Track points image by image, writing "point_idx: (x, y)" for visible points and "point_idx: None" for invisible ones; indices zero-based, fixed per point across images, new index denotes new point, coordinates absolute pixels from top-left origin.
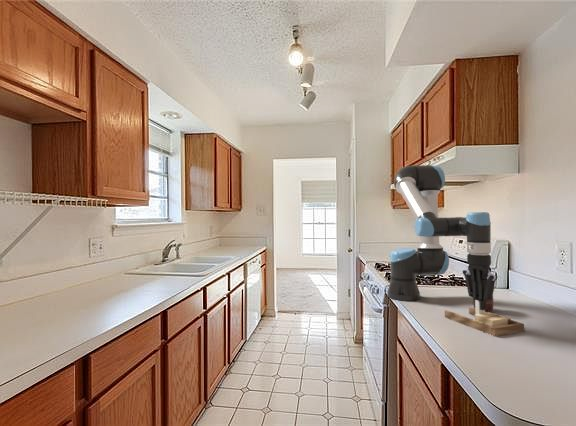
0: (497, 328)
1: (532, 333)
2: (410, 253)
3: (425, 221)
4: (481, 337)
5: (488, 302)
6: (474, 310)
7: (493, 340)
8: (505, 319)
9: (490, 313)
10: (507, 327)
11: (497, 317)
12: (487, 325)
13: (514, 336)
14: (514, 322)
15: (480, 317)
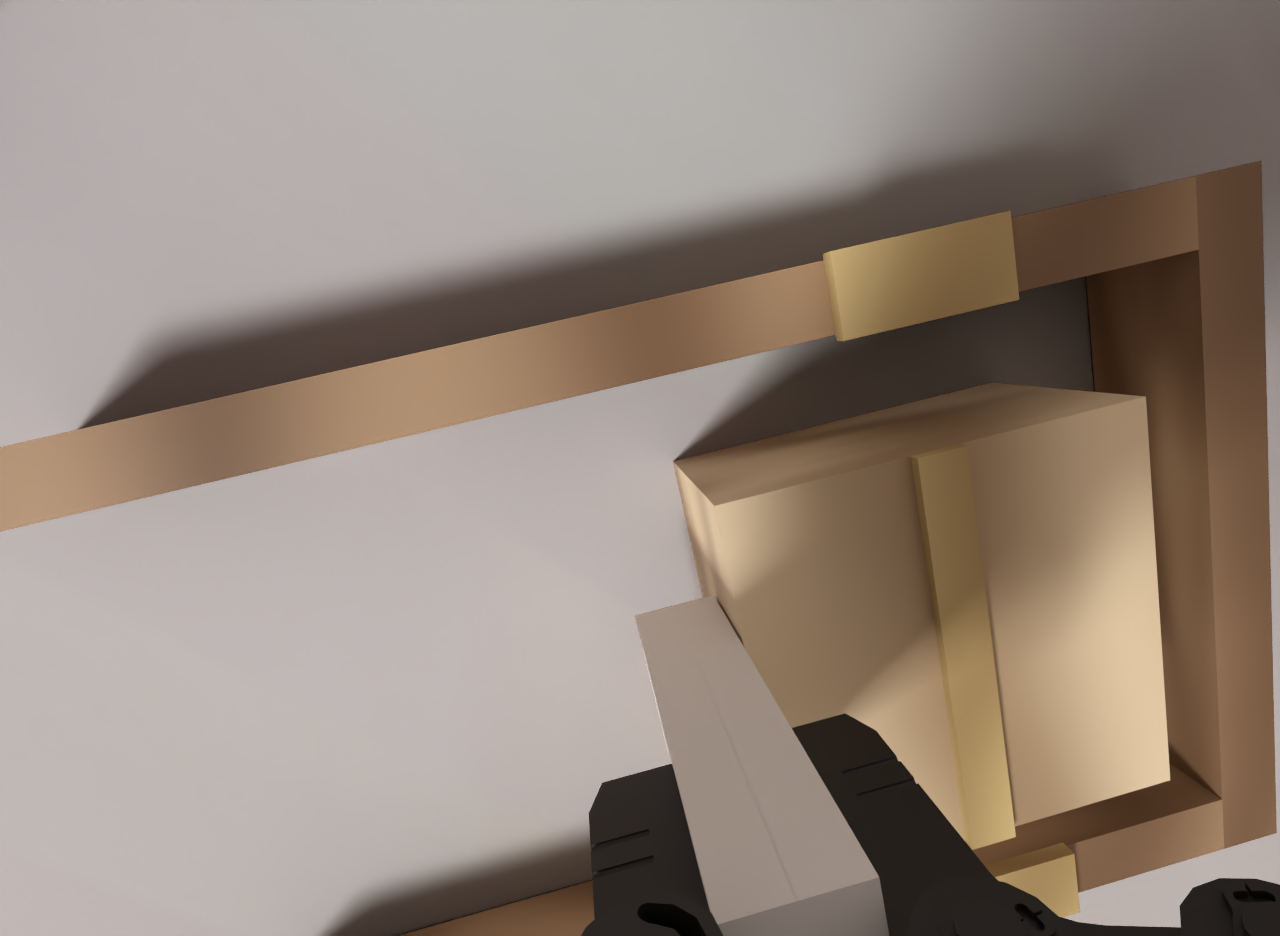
0: (1272, 777)
1: (1230, 139)
2: None
3: None
4: (1150, 921)
5: None
6: (178, 489)
7: (1257, 844)
8: (1135, 455)
9: (782, 526)
10: (1253, 574)
11: (1047, 565)
12: (1141, 849)
13: None
14: (1120, 265)
15: None
